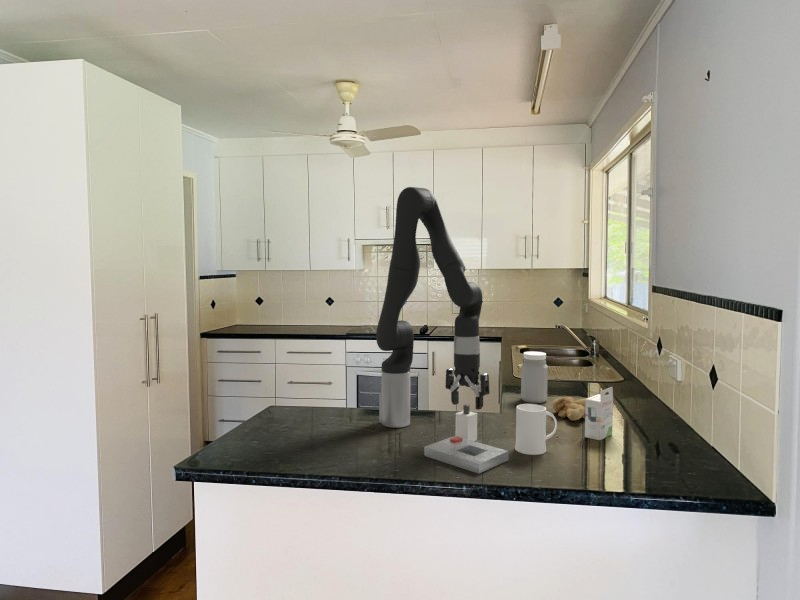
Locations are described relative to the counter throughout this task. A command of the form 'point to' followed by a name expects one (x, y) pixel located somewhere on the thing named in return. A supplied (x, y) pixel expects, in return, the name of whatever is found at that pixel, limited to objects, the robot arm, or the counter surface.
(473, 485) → the counter surface
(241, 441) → the counter surface
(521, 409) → the mug
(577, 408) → the ginger root
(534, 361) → the jar
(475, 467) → the socket plate
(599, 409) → the ink box
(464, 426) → the plug
